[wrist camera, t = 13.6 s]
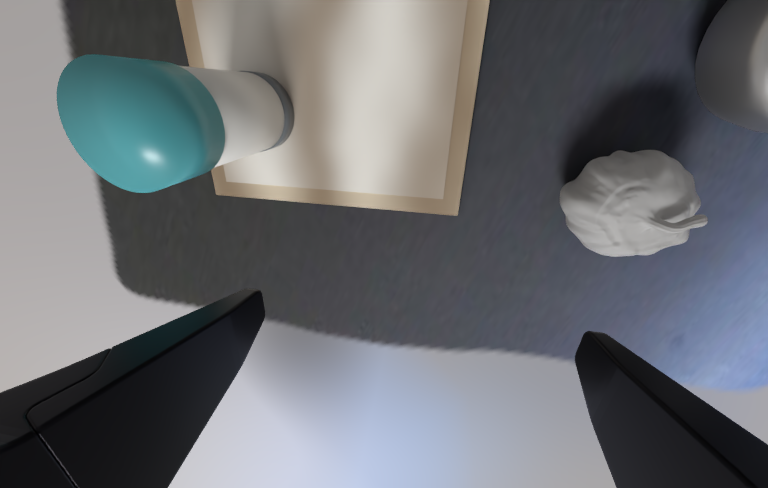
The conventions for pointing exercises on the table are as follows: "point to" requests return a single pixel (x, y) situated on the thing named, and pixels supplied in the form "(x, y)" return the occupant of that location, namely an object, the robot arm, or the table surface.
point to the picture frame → (352, 95)
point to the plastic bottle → (736, 64)
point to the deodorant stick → (167, 118)
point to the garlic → (632, 203)
